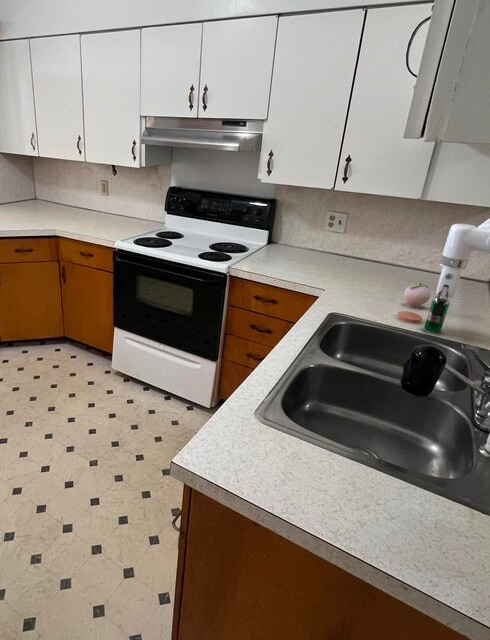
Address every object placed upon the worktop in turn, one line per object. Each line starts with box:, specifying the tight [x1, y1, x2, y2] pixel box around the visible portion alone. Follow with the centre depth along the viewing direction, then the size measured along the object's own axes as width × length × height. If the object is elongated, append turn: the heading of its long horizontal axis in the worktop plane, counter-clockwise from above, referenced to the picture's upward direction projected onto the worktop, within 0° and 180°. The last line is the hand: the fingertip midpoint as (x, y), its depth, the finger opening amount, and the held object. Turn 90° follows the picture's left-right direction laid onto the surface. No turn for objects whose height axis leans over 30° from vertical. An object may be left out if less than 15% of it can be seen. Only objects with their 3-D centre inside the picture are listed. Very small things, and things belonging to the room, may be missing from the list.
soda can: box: [424, 295, 451, 334], centre depth 146 cm, size 5×5×12 cm
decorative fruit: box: [403, 282, 432, 307], centre depth 168 cm, size 9×8×10 cm
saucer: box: [396, 310, 423, 324], centre depth 157 cm, size 8×8×1 cm
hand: (437, 312), depth 146 cm, fingers closed on soda can, 5 cm apart
